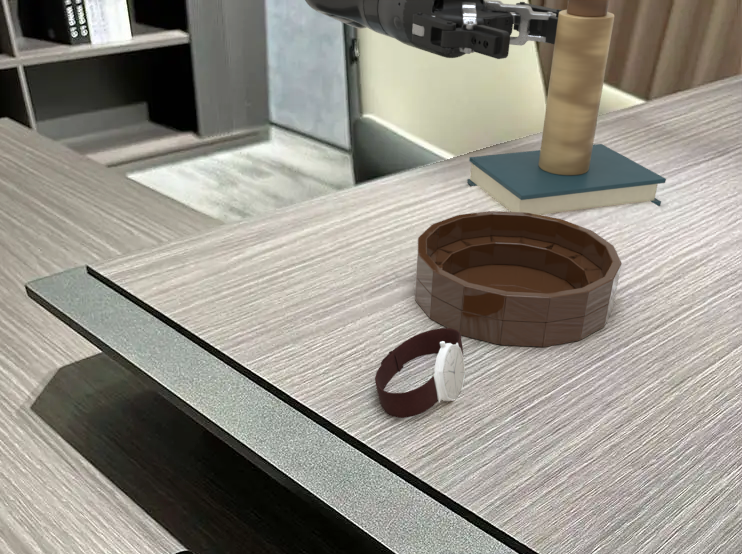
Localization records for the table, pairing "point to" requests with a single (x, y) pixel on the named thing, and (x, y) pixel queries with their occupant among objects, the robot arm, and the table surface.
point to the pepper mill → (575, 86)
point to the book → (563, 182)
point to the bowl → (516, 278)
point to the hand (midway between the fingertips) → (543, 41)
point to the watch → (438, 388)
